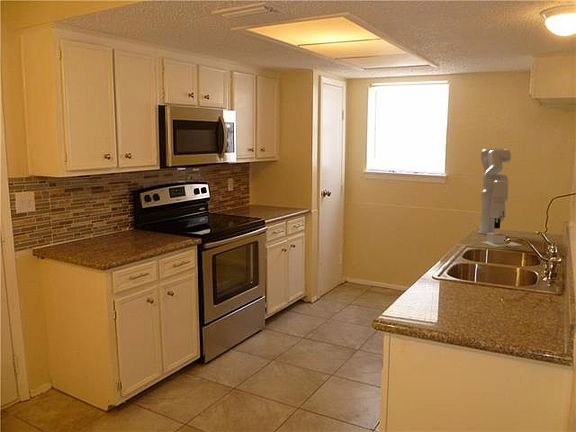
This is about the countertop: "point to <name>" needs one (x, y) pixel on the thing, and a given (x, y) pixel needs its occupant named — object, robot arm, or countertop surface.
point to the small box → (496, 238)
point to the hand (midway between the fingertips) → (496, 228)
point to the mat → (502, 244)
